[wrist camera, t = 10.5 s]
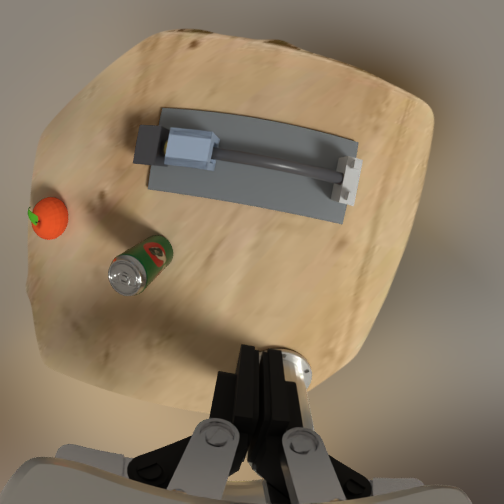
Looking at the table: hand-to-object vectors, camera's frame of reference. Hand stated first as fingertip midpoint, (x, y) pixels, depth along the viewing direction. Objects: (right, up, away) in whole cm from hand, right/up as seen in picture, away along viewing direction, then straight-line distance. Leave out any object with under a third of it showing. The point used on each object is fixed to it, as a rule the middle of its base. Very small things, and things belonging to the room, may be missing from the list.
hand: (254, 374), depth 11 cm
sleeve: (-7, +18, +24) cm, 31 cm away
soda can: (-14, +5, +29) cm, 33 cm away
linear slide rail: (-1, +18, +25) cm, 31 cm away
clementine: (-33, +12, +28) cm, 45 cm away
